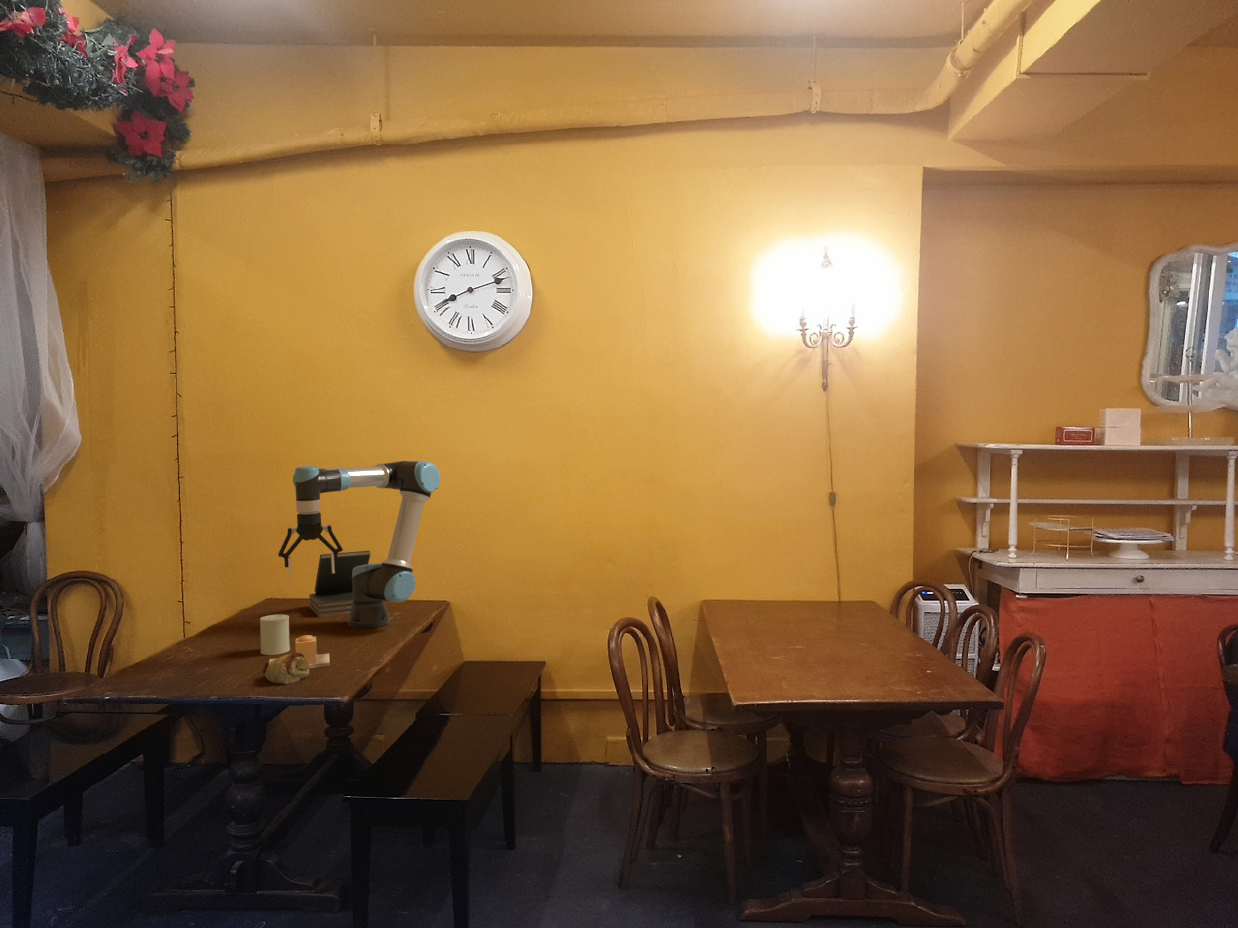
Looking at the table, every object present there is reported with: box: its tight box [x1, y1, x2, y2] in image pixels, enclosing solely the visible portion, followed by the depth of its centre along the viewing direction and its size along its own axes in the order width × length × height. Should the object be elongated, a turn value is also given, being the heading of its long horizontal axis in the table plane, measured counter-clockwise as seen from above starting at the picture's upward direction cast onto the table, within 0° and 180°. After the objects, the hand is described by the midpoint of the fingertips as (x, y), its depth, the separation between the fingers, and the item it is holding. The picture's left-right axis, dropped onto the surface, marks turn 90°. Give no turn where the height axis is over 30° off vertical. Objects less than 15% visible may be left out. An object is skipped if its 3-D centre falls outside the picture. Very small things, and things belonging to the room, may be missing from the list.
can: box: [259, 614, 291, 656], centre depth 270 cm, size 9×9×12 cm
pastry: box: [264, 652, 310, 685], centre depth 242 cm, size 14×12×8 cm
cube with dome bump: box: [294, 634, 317, 664], centre depth 254 cm, size 6×6×8 cm
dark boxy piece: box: [309, 550, 371, 618], centre depth 332 cm, size 23×20×25 cm
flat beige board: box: [268, 652, 331, 669], centre depth 255 cm, size 18×11×6 cm, turn 111°
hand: (312, 574), depth 270 cm, fingers open, 13 cm apart
